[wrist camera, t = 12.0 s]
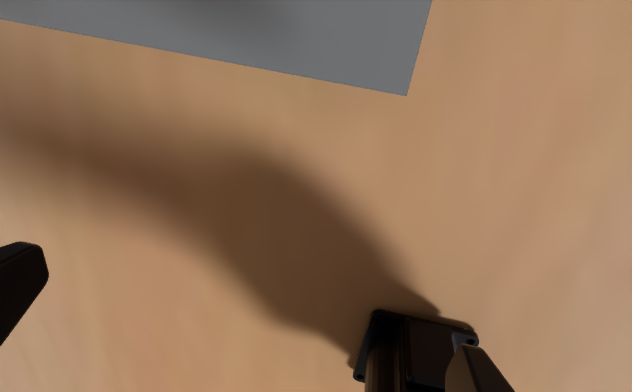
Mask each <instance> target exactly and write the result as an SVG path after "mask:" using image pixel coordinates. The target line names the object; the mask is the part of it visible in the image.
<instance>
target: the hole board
mask: <svg viewBox="0 0 632 392" xmlns="http://www.w3.org/2000/svg"><path fill="white" fill-rule="evenodd" d="M431 3H432V0H0V19H3V20H8V21H13V22H19V23H24V24H29V25H34V26H40V27H45V28H50V29H55V30H61V31H66V32H71V33H76V34H82V35H87V36H92V37H98V38H103V39H108V40H113V41H119V42H124V43H129V44H134V45H140V46H145V47H150V48H155V49H161V50H166V51H171V52H176V53H182V54H187V55H192V56H198V57H203V58H208V59H213V60H219V61H224V62H229V63H234V64H240V65H245V66H250V67H255V68H261V69H266V70H271V71H277V72H282V73H287V74H292V75H298V76H303V77H308V78H313V79H319V80H324V81H329V82H334V83H340V84H345V85H350V86H356V87H361V88H366V89H371V90H377V91H382V92H387V93H392V94H398V95H403V96H407V92H408V88H409V85H410V81H411V77H412V73H413V70H414V66H415V62H416V59H417V55H418V51H419V47H420V44H421V40H422V36H423V32H424V29H425V25H426V21H427V17H428V14H429V10H430V6H431Z"/></svg>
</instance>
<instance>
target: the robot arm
mask: <svg viewBox="0 0 632 392" xmlns="http://www.w3.org/2000/svg"><path fill="white" fill-rule="evenodd" d="M48 278H49V272H48V268H47V264H46V261H45V257H44V253H43V250H42V248H41V247H40V246H38V245H36V244H31V243H27V242H15V243H12V244H9V245H6V246H3V247H0V346H1V345H2V344H3V342H4V341H5V340H6V338H7V337H8V336H9V334H10V333H11V332H12V330H13V329H14V328H15V326H16V325H17V323H18V322H19V321H20V319H21V318H22V317H23V315H24V314H25V313H26V311H27V310H28V308H29V307H30V306H31V304H32V303H33V302H34V300H35V299H36V297H37V296H38V295H39V293H40V292H41V291H42V289H43V288H44V286H45V285H46V283H47V281H48ZM378 318H381V319H378ZM478 344H479V339H478V335H477V333H475V332H473V331H470V330H466V329H461V328H457V327H453V326H448V325H444V324H440V323H435V322H431V321H427V320H422V319H418V318H413V317H409V316H405V315H400V314H396V313H392V312H387V311H383V310H374V311H373V312H372V313H371V315H370V319H369V322H368V325H367V328H366V331H365V335H364V338H363V341H362V344H361V348H360V351H359V354H358V357H357V360H356V364H355V367H354V370H353V378H354V379H355V380H357V381H359V382H363V383H365V392H515V391H514V389H513V388H512V387H511V385H510V384H509V383H508V381H507V380H506V379H505V377H504V376H503V375H502V373H501V372H500V371H499V369H498V368H497V367H496V365H495V364H494V363H493V361H492V360H491V359H490V357H489V356H488V355H487V353H486V352H485V351H484V350H483V349H482V348H480V347H477V346H478Z"/></svg>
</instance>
